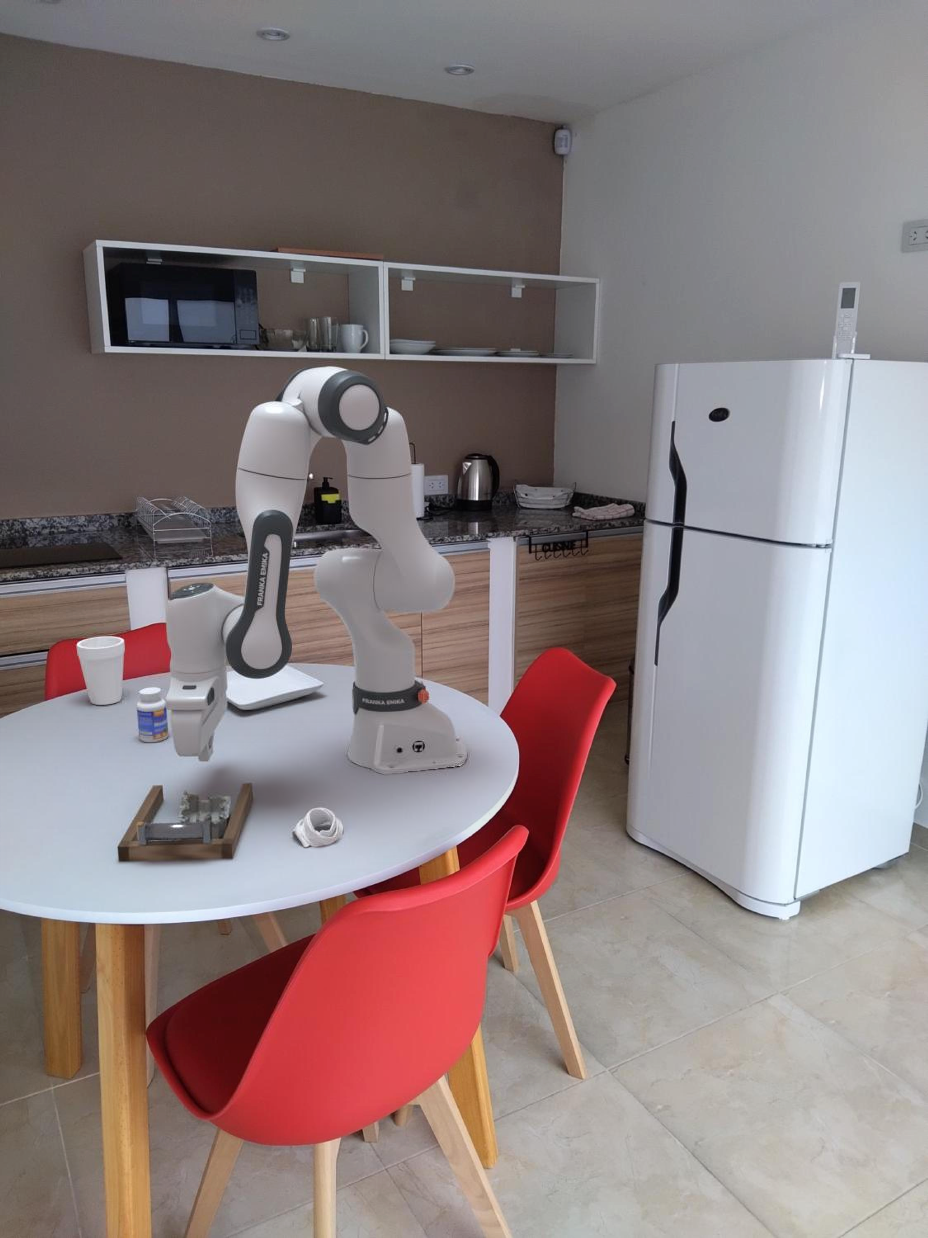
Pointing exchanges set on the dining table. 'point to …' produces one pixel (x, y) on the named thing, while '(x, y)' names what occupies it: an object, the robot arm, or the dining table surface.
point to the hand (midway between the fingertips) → (206, 757)
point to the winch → (174, 831)
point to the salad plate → (269, 688)
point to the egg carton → (206, 812)
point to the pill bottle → (152, 715)
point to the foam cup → (102, 668)
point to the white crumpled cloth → (312, 820)
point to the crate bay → (183, 848)
